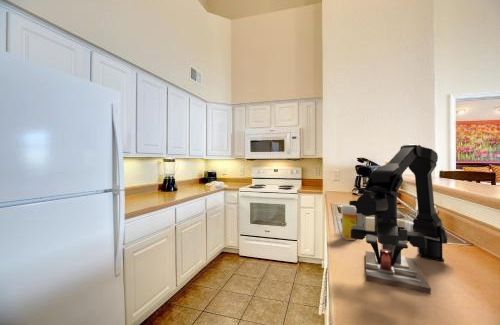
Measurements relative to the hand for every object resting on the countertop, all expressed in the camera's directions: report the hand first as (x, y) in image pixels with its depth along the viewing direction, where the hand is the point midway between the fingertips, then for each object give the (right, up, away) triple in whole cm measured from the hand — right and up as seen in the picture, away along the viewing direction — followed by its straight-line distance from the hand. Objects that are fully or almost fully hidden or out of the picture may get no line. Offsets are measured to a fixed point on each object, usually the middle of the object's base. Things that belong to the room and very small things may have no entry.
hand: (385, 264), depth 67 cm
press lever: (0, -3, 0) cm, 3 cm away
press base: (+5, -4, +5) cm, 9 cm away
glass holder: (+14, -5, +45) cm, 48 cm away
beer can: (+5, -5, +36) cm, 37 cm away
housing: (+8, -2, +10) cm, 12 cm away
